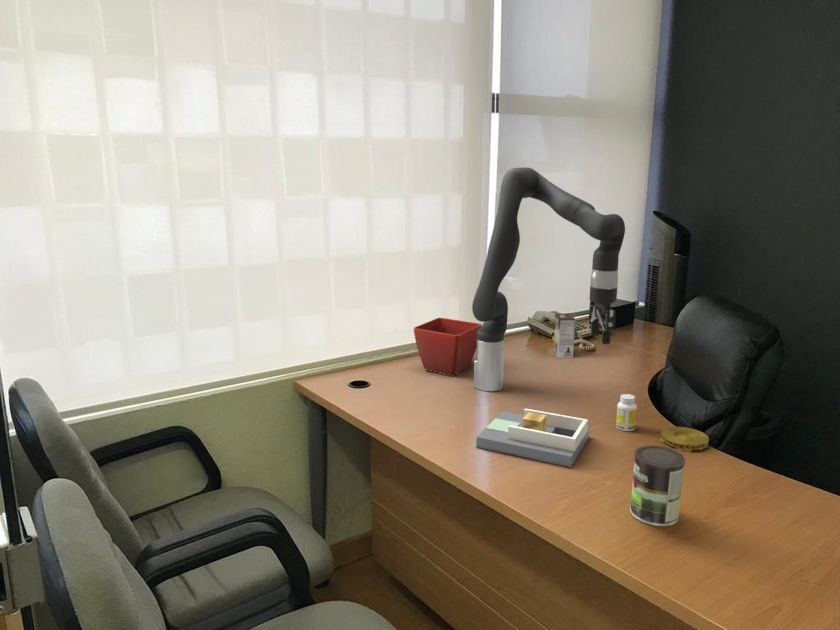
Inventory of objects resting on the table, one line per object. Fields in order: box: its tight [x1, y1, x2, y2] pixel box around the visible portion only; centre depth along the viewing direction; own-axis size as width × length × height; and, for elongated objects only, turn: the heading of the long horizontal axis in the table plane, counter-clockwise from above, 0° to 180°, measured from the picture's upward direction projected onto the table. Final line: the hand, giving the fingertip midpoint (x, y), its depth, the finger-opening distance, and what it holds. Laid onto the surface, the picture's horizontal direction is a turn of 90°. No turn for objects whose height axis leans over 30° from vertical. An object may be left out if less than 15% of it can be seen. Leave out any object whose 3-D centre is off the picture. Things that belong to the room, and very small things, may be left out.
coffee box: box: [553, 312, 576, 359], centre depth 249 cm, size 9×6×16 cm
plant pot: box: [413, 317, 483, 376], centre depth 234 cm, size 19×19×17 cm
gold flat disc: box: [660, 426, 710, 453], centre depth 174 cm, size 12×12×2 cm
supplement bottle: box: [615, 393, 638, 432], centre depth 182 cm, size 5×5×10 cm
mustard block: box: [523, 412, 546, 432], centre depth 173 cm, size 5×5×4 cm
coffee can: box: [629, 444, 686, 528], centre depth 137 cm, size 10×10×14 cm
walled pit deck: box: [475, 408, 591, 468], centre depth 174 cm, size 26×20×6 cm
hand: (600, 339), depth 184 cm, fingers open, 8 cm apart
